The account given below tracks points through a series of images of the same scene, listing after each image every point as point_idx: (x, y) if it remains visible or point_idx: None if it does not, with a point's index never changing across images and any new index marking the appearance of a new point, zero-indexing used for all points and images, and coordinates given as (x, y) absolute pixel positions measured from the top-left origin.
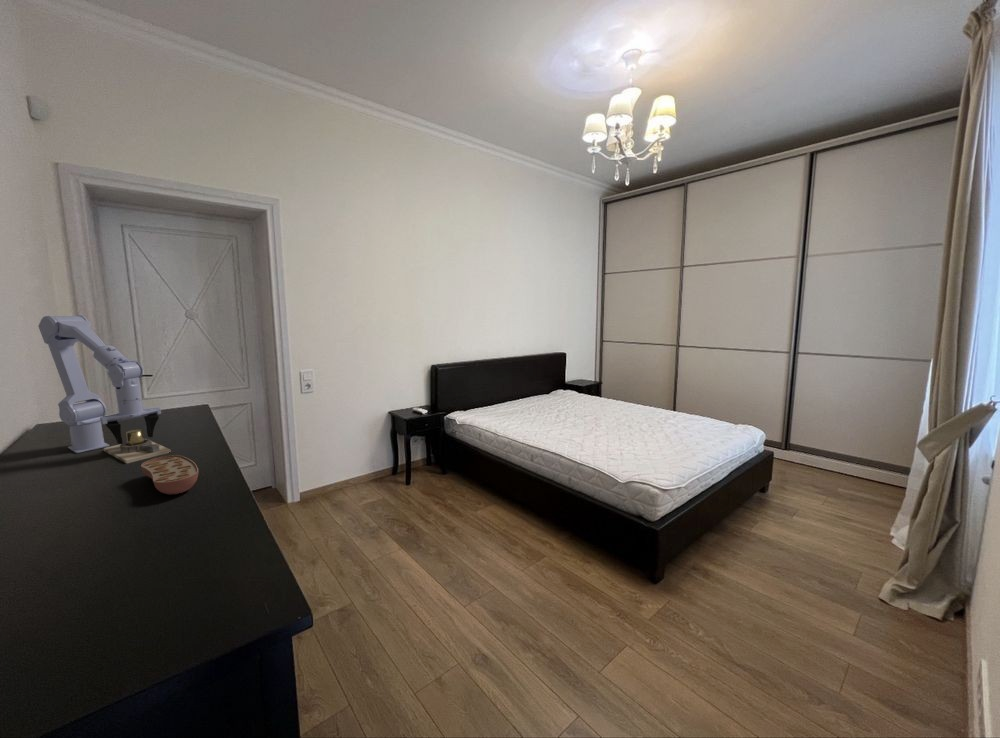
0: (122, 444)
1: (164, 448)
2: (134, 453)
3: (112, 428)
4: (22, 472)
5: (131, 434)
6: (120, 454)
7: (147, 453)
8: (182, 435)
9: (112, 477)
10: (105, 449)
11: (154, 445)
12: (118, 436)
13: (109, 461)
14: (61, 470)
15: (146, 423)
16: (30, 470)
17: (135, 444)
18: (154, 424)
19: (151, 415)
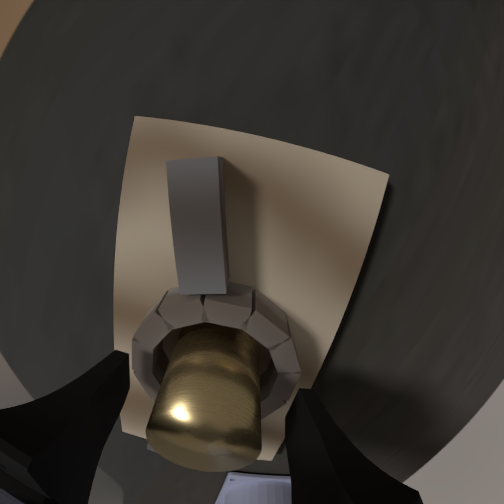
0: (265, 409)
1: (137, 178)
2: (281, 271)
3: (404, 484)
4: (459, 418)
5: (248, 415)
6: (319, 330)
7: (251, 178)
8: (19, 354)
9: (482, 61)
10: (279, 446)
11: (181, 194)
12: (334, 429)
13: (373, 309)
14: (462, 357)
15: (93, 464)
16: (449, 422)
17: (237, 345)
18: (47, 400)
19: (22, 487)
